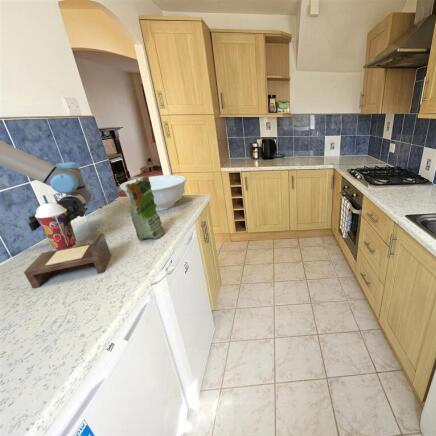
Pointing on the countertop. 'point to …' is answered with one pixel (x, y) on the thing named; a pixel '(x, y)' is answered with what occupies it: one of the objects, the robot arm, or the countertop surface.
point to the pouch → (144, 210)
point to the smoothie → (55, 225)
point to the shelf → (68, 260)
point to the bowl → (163, 190)
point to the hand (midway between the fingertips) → (48, 224)
